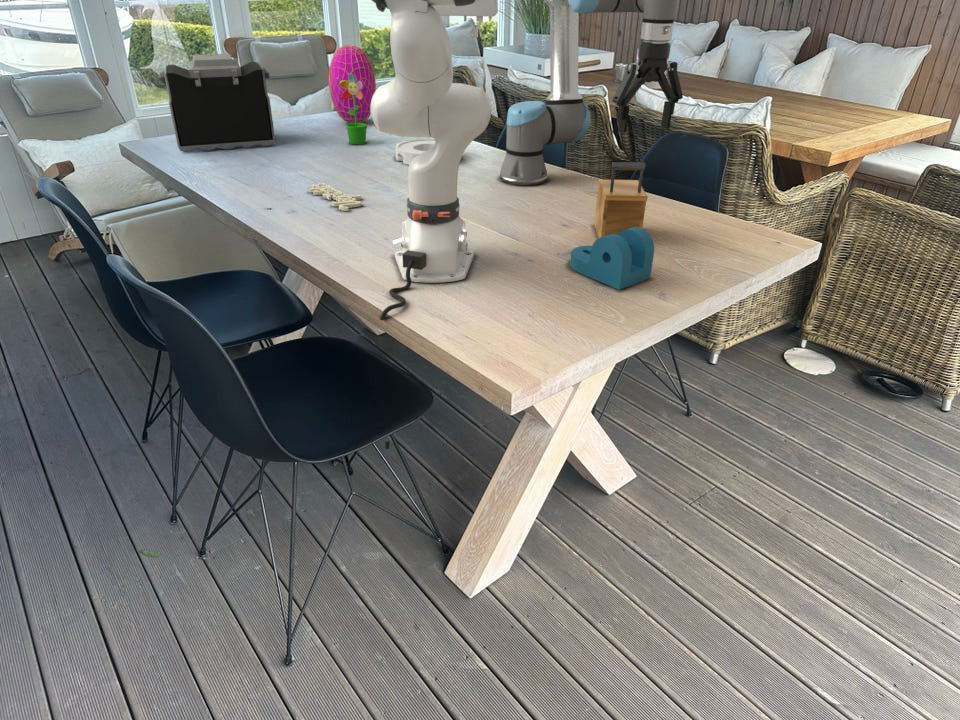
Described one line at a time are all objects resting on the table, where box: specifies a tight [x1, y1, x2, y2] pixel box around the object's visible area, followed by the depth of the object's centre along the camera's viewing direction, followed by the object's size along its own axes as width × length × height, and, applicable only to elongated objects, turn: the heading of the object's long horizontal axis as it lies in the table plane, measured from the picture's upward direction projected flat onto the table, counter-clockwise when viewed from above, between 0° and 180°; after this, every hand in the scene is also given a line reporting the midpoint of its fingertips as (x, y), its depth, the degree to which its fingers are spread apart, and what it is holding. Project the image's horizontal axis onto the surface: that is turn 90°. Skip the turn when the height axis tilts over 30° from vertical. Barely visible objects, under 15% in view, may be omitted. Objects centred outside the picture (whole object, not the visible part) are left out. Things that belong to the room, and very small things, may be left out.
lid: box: [598, 161, 648, 202], centre depth 171 cm, size 14×10×8 cm
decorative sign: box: [308, 182, 362, 212], centre depth 203 cm, size 26×1×10 cm
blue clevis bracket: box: [569, 227, 655, 291], centre depth 155 cm, size 18×10×10 cm, turn 39°
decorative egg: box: [328, 44, 377, 124], centre depth 286 cm, size 19×19×30 cm
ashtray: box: [394, 138, 435, 166], centre depth 243 cm, size 23×23×4 cm
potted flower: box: [339, 73, 368, 145], centre depth 255 cm, size 9×8×25 cm
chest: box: [594, 184, 647, 239], centre depth 176 cm, size 13×10×11 cm
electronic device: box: [159, 53, 276, 153], centre depth 251 cm, size 37×22×30 cm, turn 111°
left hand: (455, 37), depth 166 cm, fingers open, 8 cm apart
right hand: (644, 129), depth 181 cm, fingers open, 13 cm apart
